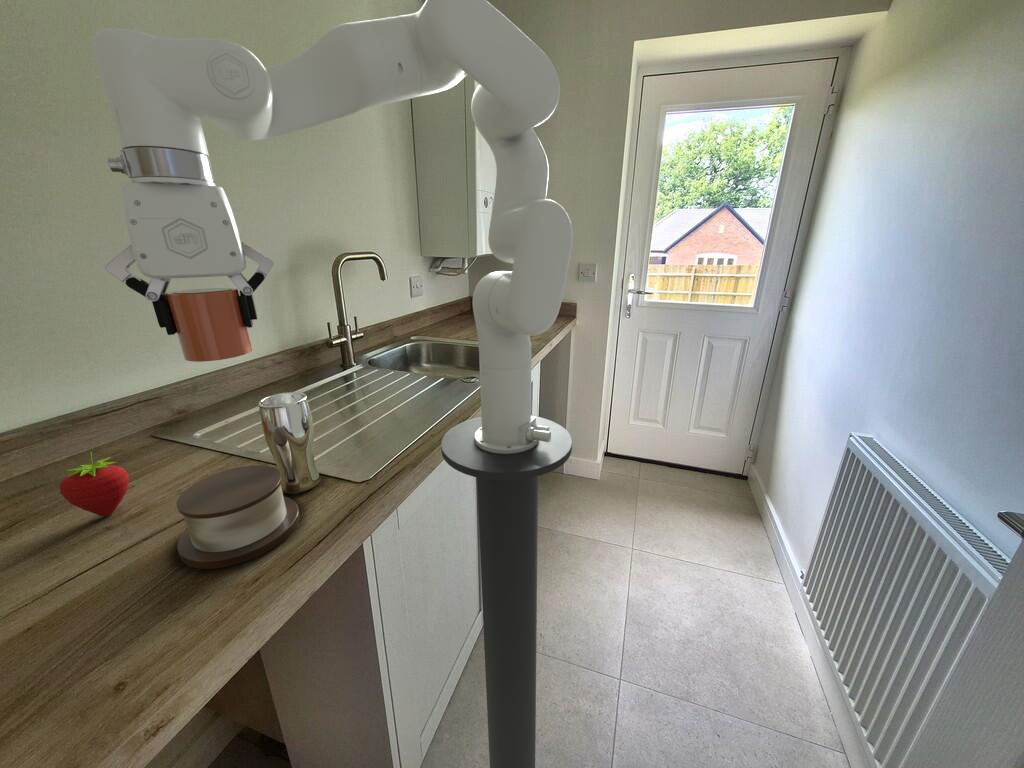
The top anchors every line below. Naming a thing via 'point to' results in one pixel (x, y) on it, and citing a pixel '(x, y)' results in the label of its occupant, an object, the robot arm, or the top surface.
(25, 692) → the top surface
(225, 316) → the terracotta cup
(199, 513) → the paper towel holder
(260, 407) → the beer glass
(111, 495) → the strawberry
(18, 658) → the top surface
